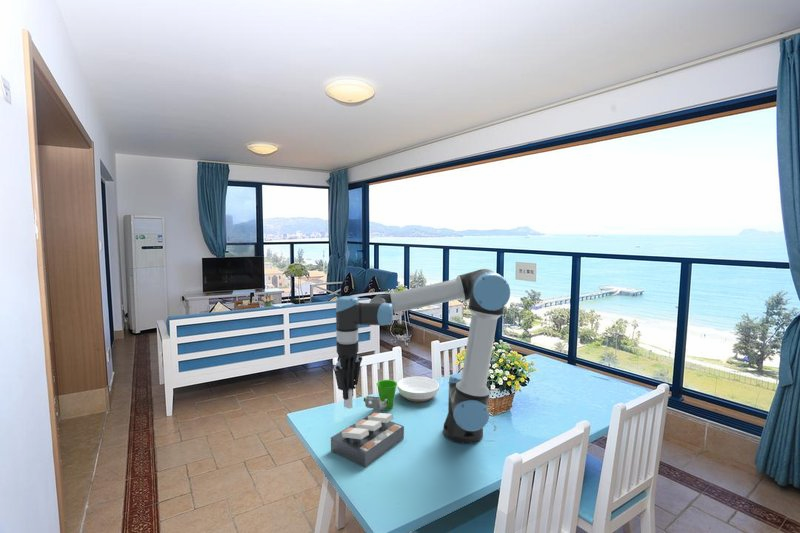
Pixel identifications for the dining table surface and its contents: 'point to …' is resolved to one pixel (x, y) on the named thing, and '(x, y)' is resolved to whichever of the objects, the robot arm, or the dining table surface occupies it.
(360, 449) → the console
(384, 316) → the robot arm
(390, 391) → the cup
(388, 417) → the block
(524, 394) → the dining table surface
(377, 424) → the rocker
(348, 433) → the block
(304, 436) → the dining table surface
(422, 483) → the dining table surface
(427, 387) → the bowl
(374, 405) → the mechanical component
